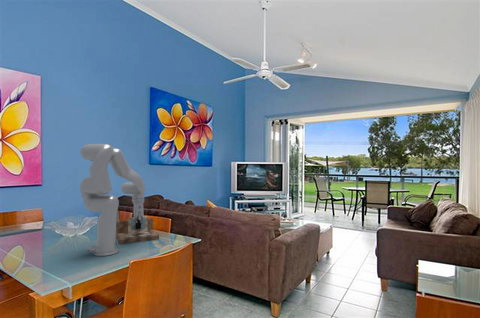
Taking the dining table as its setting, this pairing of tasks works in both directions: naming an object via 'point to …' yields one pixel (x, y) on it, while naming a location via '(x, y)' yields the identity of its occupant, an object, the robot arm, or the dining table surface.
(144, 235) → the walnut ledge
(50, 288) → the dining table surface
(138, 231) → the picture frame
